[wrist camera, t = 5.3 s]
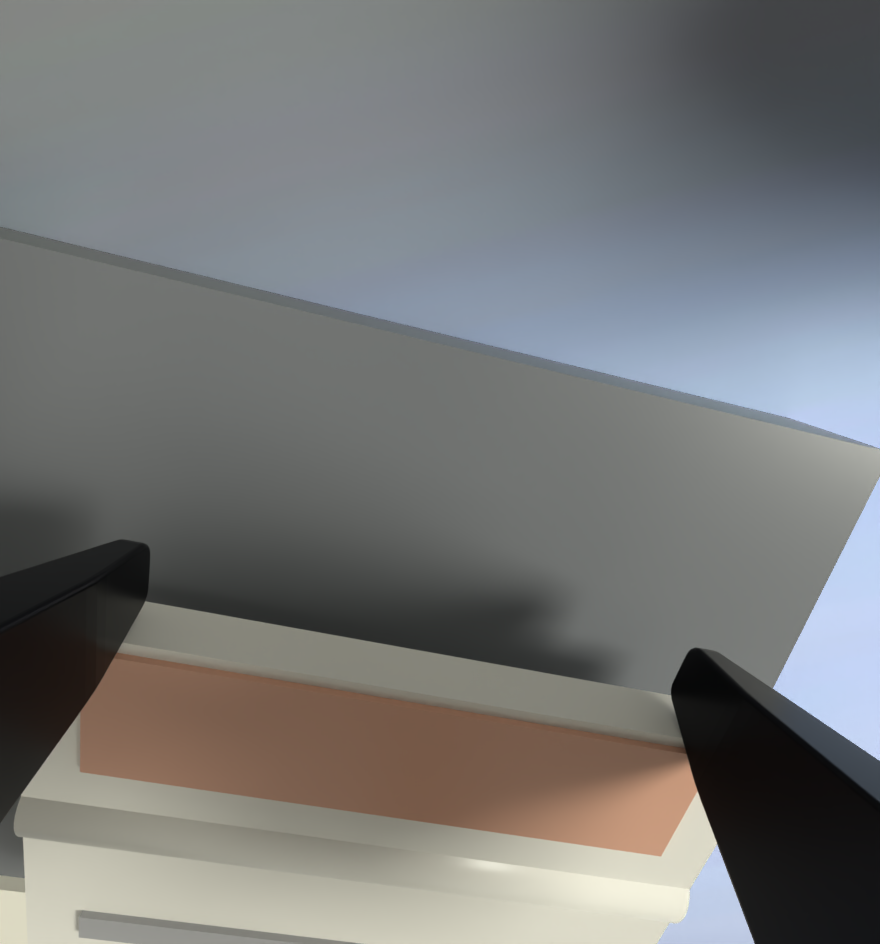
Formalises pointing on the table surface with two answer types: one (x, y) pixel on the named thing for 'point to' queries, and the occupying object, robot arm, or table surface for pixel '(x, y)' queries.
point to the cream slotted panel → (354, 799)
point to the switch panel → (399, 482)
